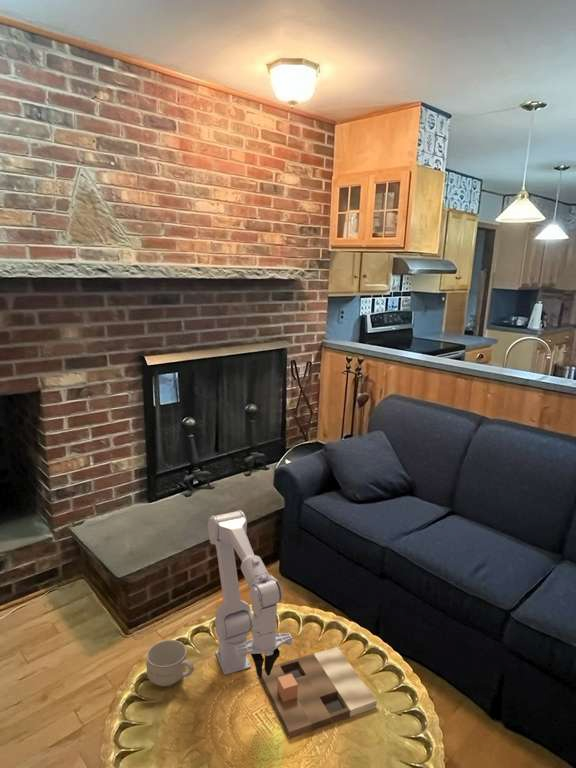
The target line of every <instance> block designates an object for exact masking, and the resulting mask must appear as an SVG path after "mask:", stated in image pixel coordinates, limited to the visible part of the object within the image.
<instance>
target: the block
mask: <svg viewBox="0 0 576 768" xmlns="http://www.w3.org/2000/svg"><path fill="white" fill-rule="evenodd" d="M277 691H278V693H279V695H280V697H281V699H282V701H283V702H285V701H288V700H291V699H294V698H297V691H298V684H297V682H296V680H295V678H294V677H293V675H292V673H291V674H288V675H284V676H281V677H278V684H277Z"/></svg>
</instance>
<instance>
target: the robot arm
mask: <svg viewBox="0 0 576 768" xmlns="http://www.w3.org/2000/svg"><path fill="white" fill-rule="evenodd" d="M247 526H248V522H247V517H246V515H245V512H243V511H242V510H241V509H239V510H236V511H232V512H227V513H221V514H218V515H211V516H210V517H209V518H208V521H207V530H208V539H209V542H210V545H215V549H216V555H217V562H218V571H219V579H220V585H221V591H222V601H223V602H221V604H220V605H219V607H218V608H217V609H216V610H215V613H214V614H215V615H214V617H215V621H214V625H215V626H214V627H215V632H216V635H217V637H218V650H215V655H216V657H217V660H218V663H219V665H220V668H221V670H222V673H223V675H224V676H225V675H229V674H232V673H237V672H240V671H243V670H247V669H250V668H251V666H252V664H251V662H250V661H249V658H248V656H247V655H251V658H252V659H253V663H254V667H255V673H256V675H257V677H258V679H260V678H262V669H263V668H265V672H266V674H267V676H268V675H270V673H271V670H272V667H273V665H275V663H276V661H277V660H278V658H279V657H280V650H279V649H280V647H281V646H283V645H286V644H287V645H288V646H290V645H293V644H292V643H293V637H292V634H291V633H290V632H286V633H277V616H278V615H277V613H278V611H277V610H278V603H281V602H282V599H283V591H282V587H281V585H280V583H279V580H278V579H277V578H276V577H274V576H273V575H272V574H270V573H269V571H268V570H267V567H266V565H265V563H264V562H263V560H262V558H261V557H260V556H259V555H256V554H255V553H254V551H253V548H252V546H251V543H250V540H249V537H248V535H247V529H248V527H247ZM235 553H236V555H238V557H239V559H240V561H241V565H240V570H241V572H242V574H243V576H244V579H245V581H246V583H247V585H248V588H249V589H250V590H249V596H250V597H249V598H250V602H251V607H250V605H249V603H248V602H246V601H245V600H243V599H241V593H240V587H239V586H240V585H239V578H238V571H237V570H238V569H237V565H236V563H237V562H236V556H235ZM252 612H253V613H252ZM250 632H252V638H250V639H249V640H248V639H247V638H248V637H249V635H250ZM263 654H264V657H263ZM263 665H264V667H263Z"/></svg>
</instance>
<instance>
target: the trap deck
mask: <svg viewBox="0 0 576 768" xmlns="http://www.w3.org/2000/svg"><path fill="white" fill-rule="evenodd" d="M291 673H292V675H293V677H294V678H295V680H296V682H297V684H298V691H297V698H294V699H291V700H288V701H285V702H283V701H282V699H281V697H280V695H279V693H278V691H277V684H278V677H281V676H284V675H288V674H291ZM259 679H260V681H261V683H262V685H264V686H263V687H265V688H264V689H266V690H265V692H266V694H267V696H268V698H269V700H270V702H271V704H272V706H273V708H274V710H275V711H274V712H276V714H277V717H278V719H279V721H280V724H281V725H283V726H282V727H283V730H284V732H285V734H286V736H287V738H288V739H289V740H290V739H293V738H297V737H299V736H301V735H305V734H306V733H309V732H312V731H316V730H317V729H320V728H324V727H326V726H329V725H331V724H334V723H338V722H341V721H342V720H345V719H348V718H351V717H355V716H356V715H359V714H362V713H364V712H367V711H370V710H373V709H375V708H377V704H378V700H377V699H376V698H375V696H374V695H373V693H372V692H371V691H370V689H369V687H367V685H366V684H365V683H364V681H363V679H361V677H360V676H359V674H358V673H357V672H356V670H355V668H353V666H352V665H351V663H350V662H349V661H348V659H347V658H346V656H345V655H344V654H343V652H342V651H341V650H340V648H339V647H338V646H334V647H331V648H329V649H324V650H320V651H318V652H315V653H312V654H308V655H304V656H301V657H298V658H294V659H291V660H287V661H284V662H281V663H277V664H274V665H273V667H272V670H271V673H270V675H268V676H267V674H266V672H265V667H262V678H259Z"/></svg>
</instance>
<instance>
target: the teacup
mask: <svg viewBox="0 0 576 768" xmlns="http://www.w3.org/2000/svg"><path fill="white" fill-rule="evenodd" d="M187 651H188V650H187V646H186V645H185V644H184V643H182V642H181V641H179V640H174V639H165V640H161V641H159V642H158V641H157V642H156V643H154V644H153V645H151V646H150V647H149V648H148V649H147V651H146V653H145V657H146V674H147V678H148V679H149V681H150V682H151V683H152V684H154V685H156V686H159V687H169V686H173V685H174V684H176V683H177V682H178V681H179V680H183V679H184V678H187V677H189V676H191V675H192V674H193V672H194V670H195V667H194V663H193V662H192V661H190V660H189V659H187ZM186 666H187V668H188V670H189V671H186Z"/></svg>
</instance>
